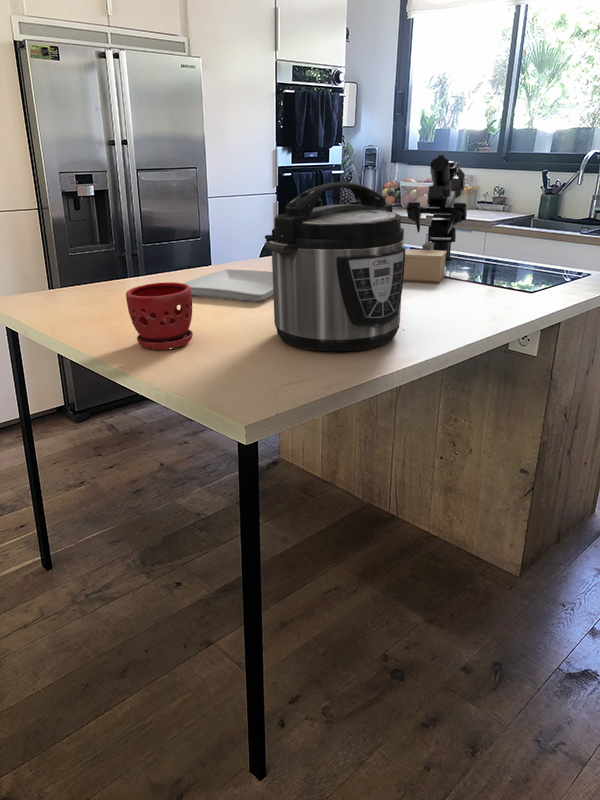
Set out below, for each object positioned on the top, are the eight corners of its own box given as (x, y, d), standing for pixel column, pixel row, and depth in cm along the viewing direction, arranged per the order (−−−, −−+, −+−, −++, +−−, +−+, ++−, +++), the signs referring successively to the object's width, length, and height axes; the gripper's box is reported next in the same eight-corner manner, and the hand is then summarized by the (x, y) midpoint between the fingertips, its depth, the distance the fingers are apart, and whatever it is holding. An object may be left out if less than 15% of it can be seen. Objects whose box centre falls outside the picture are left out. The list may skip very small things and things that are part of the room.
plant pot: (155, 333, 143) (150, 279, 138) (206, 339, 138) (202, 283, 134) (119, 349, 132) (111, 292, 127) (173, 356, 127) (167, 297, 122)
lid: (409, 251, 204) (410, 241, 202) (449, 253, 200) (450, 243, 198) (399, 260, 189) (399, 249, 188) (441, 262, 185) (442, 251, 184)
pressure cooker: (269, 360, 124) (263, 188, 112) (265, 322, 150) (260, 180, 138) (421, 355, 126) (431, 185, 114) (391, 318, 152) (397, 177, 140)
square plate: (175, 298, 176) (174, 284, 175) (227, 280, 199) (226, 267, 198) (261, 307, 166) (260, 292, 164) (305, 286, 188) (305, 273, 187)
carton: (405, 275, 200) (406, 252, 197) (444, 277, 196) (445, 253, 193) (398, 281, 191) (399, 257, 188) (439, 283, 187) (440, 259, 184)
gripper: (409, 175, 204) (400, 214, 199) (468, 175, 198) (461, 216, 193) (412, 199, 214) (404, 237, 209) (469, 200, 208) (462, 239, 203)
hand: (432, 232), depth 203 cm, fingers open, 9 cm apart
